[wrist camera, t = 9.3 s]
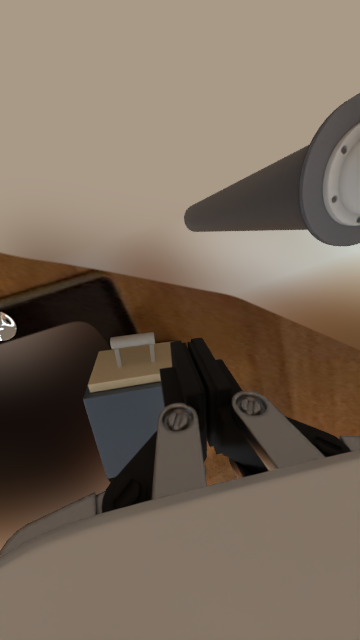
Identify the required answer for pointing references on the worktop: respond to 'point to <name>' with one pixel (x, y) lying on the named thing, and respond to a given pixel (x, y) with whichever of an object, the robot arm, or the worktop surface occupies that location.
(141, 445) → the cabinet
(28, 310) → the worktop surface
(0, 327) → the wineglass
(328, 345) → the worktop surface
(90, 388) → the drawer
